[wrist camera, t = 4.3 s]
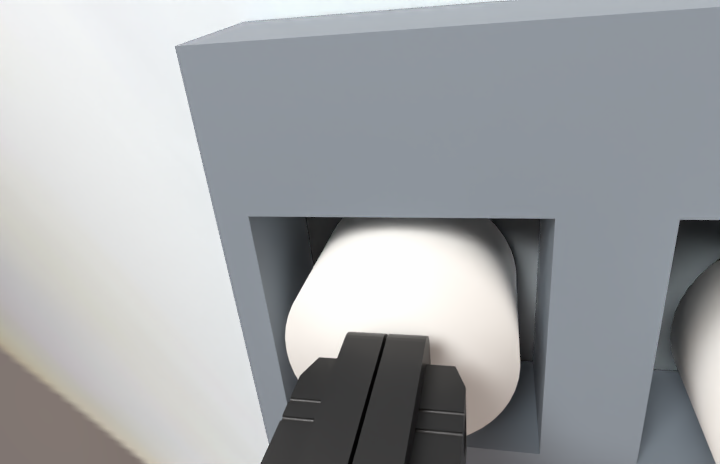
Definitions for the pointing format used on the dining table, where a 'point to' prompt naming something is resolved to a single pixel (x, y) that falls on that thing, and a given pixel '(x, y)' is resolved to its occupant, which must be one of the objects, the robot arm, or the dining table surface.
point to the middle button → (701, 351)
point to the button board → (482, 184)
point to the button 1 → (418, 300)
